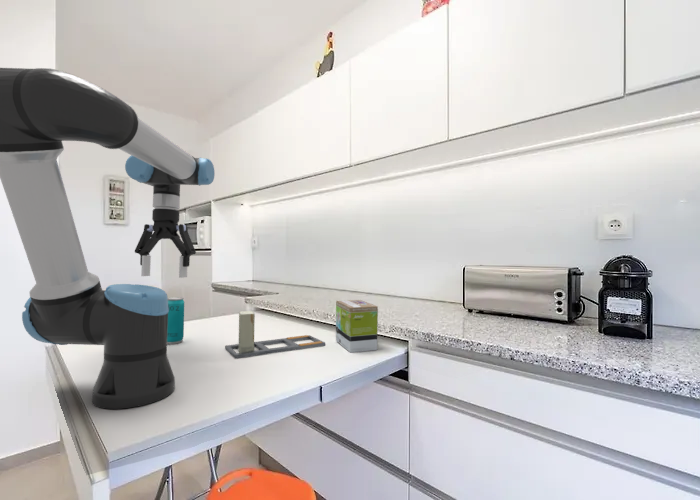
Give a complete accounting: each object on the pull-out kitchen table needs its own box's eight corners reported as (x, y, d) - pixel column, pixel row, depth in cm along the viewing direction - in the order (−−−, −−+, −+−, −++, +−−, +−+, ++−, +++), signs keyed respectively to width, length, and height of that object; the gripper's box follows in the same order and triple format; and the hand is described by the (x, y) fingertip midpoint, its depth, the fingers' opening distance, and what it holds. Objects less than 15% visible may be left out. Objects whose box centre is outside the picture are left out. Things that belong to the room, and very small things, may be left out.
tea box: (334, 341, 124) (335, 299, 124) (360, 339, 127) (361, 299, 127) (349, 353, 110) (350, 306, 110) (378, 350, 113) (379, 305, 113)
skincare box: (254, 353, 107) (255, 313, 107) (239, 354, 105) (240, 314, 105) (252, 348, 113) (252, 310, 113) (238, 349, 111) (239, 310, 111)
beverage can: (166, 340, 120) (167, 297, 120) (184, 339, 121) (185, 296, 122) (162, 345, 114) (163, 299, 114) (181, 344, 116) (183, 299, 116)
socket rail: (325, 345, 118) (325, 342, 118) (234, 358, 101) (234, 354, 101) (309, 337, 128) (309, 334, 128) (225, 348, 111) (225, 345, 111)
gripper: (208, 210, 111) (206, 277, 110) (142, 211, 116) (140, 274, 115) (193, 207, 103) (191, 278, 103) (123, 208, 109) (120, 276, 108)
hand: (164, 276), depth 109 cm, fingers open, 13 cm apart
